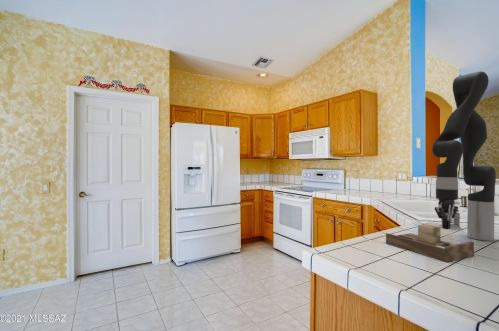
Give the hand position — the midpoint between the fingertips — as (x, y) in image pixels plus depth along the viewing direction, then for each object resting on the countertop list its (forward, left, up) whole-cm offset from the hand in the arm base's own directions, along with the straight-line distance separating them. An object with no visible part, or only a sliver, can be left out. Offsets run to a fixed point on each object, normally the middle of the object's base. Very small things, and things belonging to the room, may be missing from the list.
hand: (446, 228), depth 109 cm
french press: (-34, -18, -7) cm, 39 cm away
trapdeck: (+14, 0, -7) cm, 15 cm away
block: (+10, -1, -4) cm, 11 cm away
